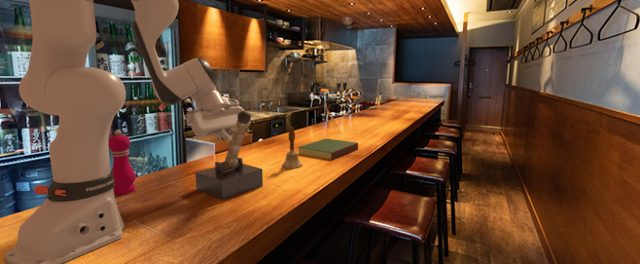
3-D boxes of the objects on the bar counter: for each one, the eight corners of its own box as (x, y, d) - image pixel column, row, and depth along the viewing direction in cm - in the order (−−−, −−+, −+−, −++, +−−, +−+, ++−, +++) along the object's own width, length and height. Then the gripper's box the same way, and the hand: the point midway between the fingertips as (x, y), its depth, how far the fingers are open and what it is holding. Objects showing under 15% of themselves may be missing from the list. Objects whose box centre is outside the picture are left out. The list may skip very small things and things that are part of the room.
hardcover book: (332, 160, 149) (332, 152, 148) (297, 154, 159) (297, 147, 158) (358, 149, 169) (358, 142, 169) (326, 145, 179) (326, 138, 179)
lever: (216, 166, 111) (233, 109, 101) (232, 163, 116) (249, 107, 106) (223, 174, 109) (241, 116, 99) (238, 170, 114) (257, 114, 104)
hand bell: (305, 167, 137) (304, 128, 134) (285, 169, 134) (284, 129, 131) (298, 162, 144) (298, 124, 142) (279, 164, 141) (278, 126, 139)
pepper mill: (125, 196, 105) (118, 132, 102) (105, 194, 107) (98, 131, 103) (142, 188, 112) (136, 128, 108) (123, 186, 114) (116, 127, 110)
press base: (196, 189, 111) (194, 161, 109) (236, 177, 124) (235, 152, 122) (222, 199, 103) (221, 169, 101) (262, 186, 115) (262, 158, 113)
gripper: (187, 104, 103) (208, 141, 99) (241, 99, 119) (261, 131, 115) (180, 117, 106) (200, 153, 102) (233, 111, 122) (252, 142, 118)
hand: (233, 141), depth 109 cm, fingers closed, pressing on lever
